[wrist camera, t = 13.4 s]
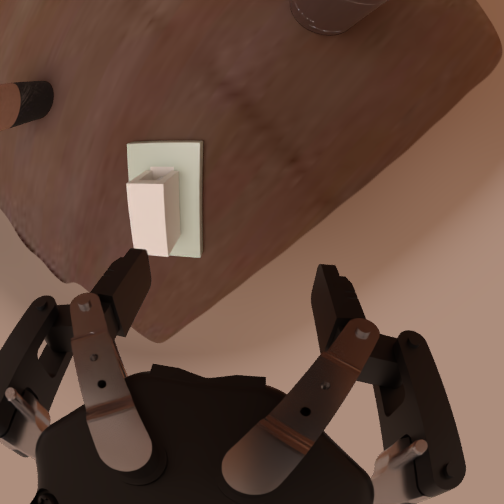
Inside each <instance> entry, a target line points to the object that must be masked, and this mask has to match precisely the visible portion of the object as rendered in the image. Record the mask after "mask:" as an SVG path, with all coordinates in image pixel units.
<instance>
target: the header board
mask: <svg viewBox="0 0 504 504" xmlns="http://www.w3.org/2000/svg"><path fill="white" fill-rule="evenodd" d="M127 157H128V174H129V181H131V180H132V179H134V178H135V177H137V176H138V175H140V174H141V173H143V172H144V171H146V170H152V173H153V180H161V179H162V178H163V177H165V176H166V175H167V174H168V173H170V172H171V171H179V208H180V232H181V235H180V237H179V238H178V240H177V242H176V244H175V245H174V247H173V249H172V251H171V253H170V254H169V255H173V256H184V257H195V258H200V257H201V255H202V252H203V241H202V170H203V141H190V140H176V141H140V142H131V143H128V144H127Z"/></svg>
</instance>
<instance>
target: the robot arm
mask: <svg viewBox="0 0 504 504" xmlns="http://www.w3.org/2000/svg"><path fill="white" fill-rule="evenodd" d="M386 1H388V0H291V1H290V7H291V12H292V14H293V16H294V17H295V19H296V20H297V21H298V22H299V23H300V24H301V25H302V26H304V27H305V28H307V29H308V30H310V31H313V32H315V33H318V34H322V35H337V34H341V33H343V32H345V31H347V30H348V29H349V28H351V27H352V26H353V25H355V24H356V23H357V22H359V21H360V20H361V19H363V18H364V17H365V16H367V15H368V14H369V13H371V12H372V11H374V10H375V9H376V8H378V7H379V6H381V5H382V4H383V3H385V2H386ZM150 286H151V272H150V266H149V259H148V253H147V250H146V249H136V248H131V249H130V250H129V251H128V252H127V253H126V255H125V256H124V257H120V258H119V259H117V260H116V261H114V262H113V263H112V264H111V265H110V267H109V268H108V270H107V271H106V272H105V273H104V276H102V277H101V279H100V280H99V281H98V283H97V284H96V285H95V287H94V288H93V289H92V291H91V292H90V293H83V294H80V295H78V296H77V297H75V298H74V299H73V300H72V302H71V304H70V305H57V304H56V302H55V299H54V298H53V297H51V296H42V297H39V298H37V299H36V300H35V301H33V303H32V304H31V305H30V307H29V308H28V309H27V311H26V312H25V313H24V315H23V316H22V318H21V320H20V321H19V322H18V324H17V325H16V327H15V328H14V330H13V331H12V333H11V334H10V336H9V337H8V339H7V341H6V342H5V344H4V345H3V347H2V349H1V350H0V442H1V443H2V444H3V445H5V446H6V447H8V448H9V449H12V450H13V451H14V452H16V453H17V454H19V455H20V456H23V457H31V458H33V459H35V460H36V464H37V472H38V489H37V493H36V496H35V497H34V499H33V500H32V502H31V503H30V504H416V503H419V502H422V501H424V500H427V499H430V498H432V497H435V496H437V495H440V494H442V493H444V492H447V491H449V490H451V489H453V488H455V487H457V486H458V485H459V484H460V483H461V482H462V480H463V478H464V476H465V472H466V465H465V460H464V455H463V451H462V447H461V443H460V438H459V434H458V431H457V427H456V423H455V420H454V417H453V413H452V410H451V407H450V404H449V401H448V397H447V394H446V392H445V389H444V386H443V383H442V380H441V378H440V375H439V372H438V369H437V367H436V364H435V362H434V359H433V357H432V354H431V352H430V349H429V347H428V345H427V342H426V340H425V339H424V338H423V337H422V336H421V335H420V334H418V333H416V332H414V331H409V330H408V331H403V332H402V333H400V335H399V336H398V338H394V337H390V336H386V335H382V334H380V332H379V329H378V328H377V326H376V325H375V324H374V323H372V322H370V321H369V320H366V318H365V315H364V313H363V310H362V307H361V305H360V302H359V300H358V299H357V295H356V293H355V290H354V287H353V285H352V283H351V282H350V281H349V280H348V279H347V278H346V277H343V276H339V273H338V270H337V268H336V266H335V265H324V264H319V266H318V268H317V273H316V277H315V281H314V285H313V289H312V294H311V304H312V310H313V315H314V320H315V325H316V331H317V336H318V342H319V347H320V353H321V355H320V356H319V357H318V358H317V360H316V361H315V362H314V364H313V365H312V366H311V367H310V368H309V370H308V371H307V372H306V373H305V374H304V376H303V377H302V378H301V379H300V380H299V381H298V383H297V384H296V385H295V386H294V387H293V388H292V390H291V391H290V392H289V393H288V394H285V393H284V392H282V391H280V390H278V389H276V388H273V387H271V386H267V385H266V377H255V376H242V375H234V376H225V377H216V378H204V377H201V376H198V375H196V374H193V373H190V372H188V371H185V370H182V369H180V368H175V367H168V366H163V365H157V364H153V365H152V369H151V371H147V372H141V373H137V374H133V375H130V376H128V375H127V373H126V370H125V368H124V365H123V362H122V360H121V357H120V354H119V352H118V349H117V346H116V343H115V338H116V336H117V335H118V336H123V337H126V335H127V333H128V331H129V328H130V327H131V325H132V323H133V321H134V319H135V317H136V315H137V313H138V311H139V309H140V307H141V305H142V303H143V301H144V299H145V297H146V295H147V293H148V291H149V289H150ZM44 339H45V341H46V343H47V345H46V347H45V348H44V350H43V352H42V354H41V356H40V358H39V360H38V357H37V353H38V349H39V347H40V345H41V344H42V342H43V340H44ZM72 356H73V357H74V362H75V367H76V372H77V376H78V380H79V384H80V388H81V393H82V396H83V400H84V405H82V406H81V407H79V408H77V409H76V410H74V411H73V412H71V413H70V414H68V415H66V416H65V417H63V418H61V419H60V420H58V421H56V422H55V423H53V424H51V425H50V415H49V410H50V407H51V404H52V402H53V400H54V397H55V395H56V392H57V390H58V387H59V385H60V383H61V380H62V378H63V376H64V373H65V371H66V369H67V367H68V365H69V362H70V360H71V358H72ZM356 381H360V382H365V383H369V384H373V388H374V393H375V398H376V403H377V409H378V415H379V420H380V427H381V433H382V440H383V447H384V451H383V452H382V453H381V454H380V455H379V456H378V458H377V459H376V461H375V468H374V473H373V476H372V477H371V478H370V477H369V475H368V474H367V473H366V471H364V469H362V468H361V467H360V466H359V465H358V464H357V463H356V462H355V461H354V460H353V459H352V458H350V456H348V454H346V453H345V452H344V451H343V450H342V449H341V448H340V447H339V446H338V445H337V444H336V443H335V442H334V441H333V440H332V439H331V438H330V437H329V436H328V435H327V434H326V433H325V432H324V429H325V428H326V426H327V425H328V424H329V422H330V421H331V419H332V418H333V416H334V415H335V413H336V412H337V410H338V409H339V407H340V406H341V404H342V403H343V401H344V400H345V398H346V396H347V395H348V393H349V392H350V390H351V388H352V387H353V385H354V383H355V382H356Z"/></svg>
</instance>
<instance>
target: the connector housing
mask: <svg viewBox="0 0 504 504" xmlns="http://www.w3.org/2000/svg"><path fill="white" fill-rule="evenodd" d="M126 185H127V196H128V206H129V215H130V224H131V231H132V238H133V245H134V248H136V249H146V250H147V253H148V255H154V256H165V257H168V256H169V254H170V253H171V251H172V249H173V247H174V245H175V244H176V242H177V240H178V238H179V237H180V235H181V232H180V208H179V171H171V172H170V173H168V174H167V175H166V176H165V177H163V178H162V179H161V180H153V173H152V170H146V171H144V172H143V173H141V174H140V175H138V176H137V177H135V178H134V179H132V180H131V181H129V182H128V183H126Z"/></svg>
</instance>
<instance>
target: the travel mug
mask: <svg viewBox="0 0 504 504" xmlns="http://www.w3.org/2000/svg"><path fill="white" fill-rule="evenodd" d="M52 103H53V89H52V87H51V85H50V84H49V83H48V82H45V81H33V82H16V83H7V84H1V85H0V131H3V130H6V129H9V128H12V127H15V126H18V125H21V124H24V123H27V122H30V121H34V120H37V119H40V118H42V117H44V116H45V115H46V114H47V113H48V112H49V110H50V108H51V106H52Z"/></svg>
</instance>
